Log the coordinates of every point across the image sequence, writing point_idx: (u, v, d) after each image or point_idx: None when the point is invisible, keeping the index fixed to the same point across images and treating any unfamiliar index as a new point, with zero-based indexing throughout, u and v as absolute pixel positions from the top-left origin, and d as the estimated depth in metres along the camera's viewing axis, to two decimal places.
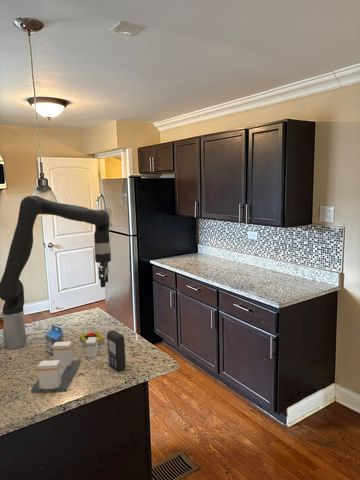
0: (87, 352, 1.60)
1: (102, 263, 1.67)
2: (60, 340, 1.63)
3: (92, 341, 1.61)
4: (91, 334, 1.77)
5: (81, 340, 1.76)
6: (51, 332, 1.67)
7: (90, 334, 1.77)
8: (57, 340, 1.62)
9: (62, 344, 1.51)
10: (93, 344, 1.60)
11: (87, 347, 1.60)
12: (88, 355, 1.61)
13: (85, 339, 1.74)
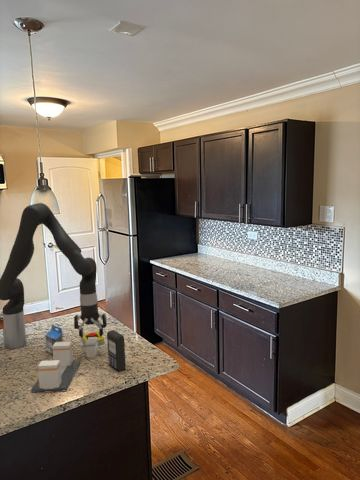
0: (87, 352, 1.60)
1: None
2: (60, 340, 1.63)
3: (92, 341, 1.61)
4: (92, 334, 1.77)
5: (82, 340, 1.77)
6: (51, 332, 1.67)
7: (91, 334, 1.77)
8: (57, 340, 1.62)
9: (62, 344, 1.51)
10: (93, 344, 1.60)
11: (87, 347, 1.60)
12: (88, 355, 1.61)
13: (86, 339, 1.74)
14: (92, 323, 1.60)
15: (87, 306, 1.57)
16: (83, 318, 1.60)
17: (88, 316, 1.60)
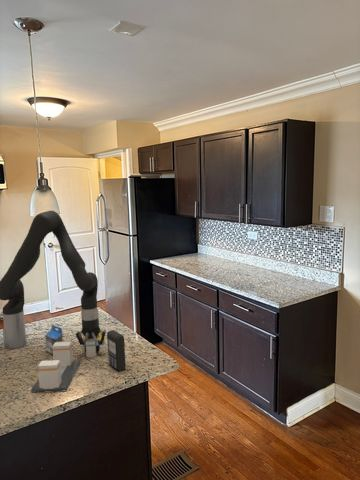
0: (87, 352, 1.60)
1: None
2: (60, 340, 1.63)
3: (92, 341, 1.61)
4: None
5: (83, 339, 1.77)
6: (51, 332, 1.67)
7: None
8: (57, 340, 1.62)
9: (62, 344, 1.51)
10: (93, 344, 1.60)
11: (87, 347, 1.60)
12: (88, 355, 1.61)
13: None
14: (91, 337, 1.62)
15: (88, 321, 1.58)
16: (84, 332, 1.61)
17: (89, 330, 1.61)
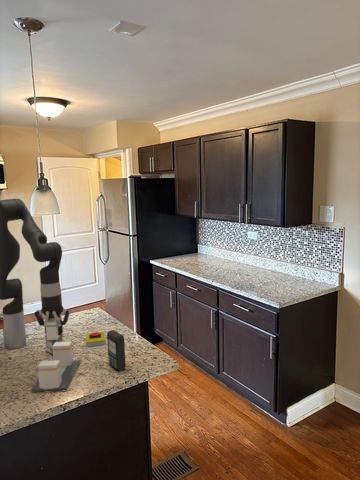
0: (47, 334, 1.39)
1: (61, 304, 1.41)
2: (60, 340, 1.63)
3: (53, 321, 1.39)
4: (95, 334, 1.77)
5: None
6: None
7: (94, 334, 1.77)
8: (57, 340, 1.62)
9: (62, 344, 1.51)
10: (54, 324, 1.38)
11: (47, 328, 1.39)
12: (48, 337, 1.39)
13: (88, 338, 1.75)
14: (52, 317, 1.40)
15: (48, 297, 1.36)
16: (44, 311, 1.40)
17: (50, 309, 1.40)
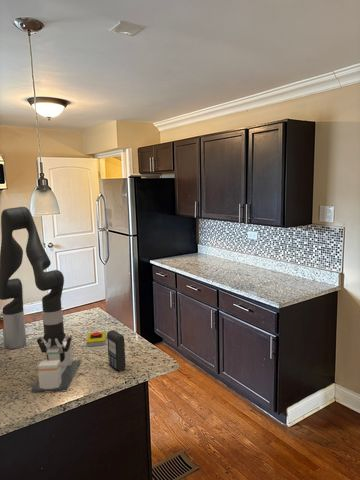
0: None
1: (63, 331, 1.42)
2: None
3: (55, 348, 1.41)
4: (96, 334, 1.77)
5: None
6: None
7: (95, 334, 1.77)
8: None
9: None
10: (56, 352, 1.40)
11: (49, 355, 1.40)
12: None
13: (89, 338, 1.75)
14: (54, 344, 1.42)
15: (50, 325, 1.38)
16: (46, 338, 1.41)
17: (52, 336, 1.41)
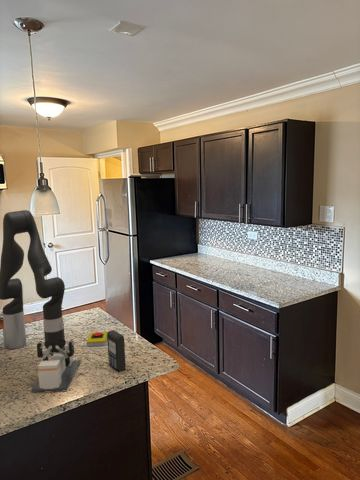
0: None
1: (64, 338, 1.43)
2: None
3: (57, 359, 1.42)
4: (97, 334, 1.77)
5: None
6: None
7: (96, 334, 1.77)
8: None
9: None
10: None
11: None
12: None
13: (90, 338, 1.75)
14: (57, 351, 1.42)
15: (51, 333, 1.38)
16: (47, 345, 1.42)
17: (53, 343, 1.42)
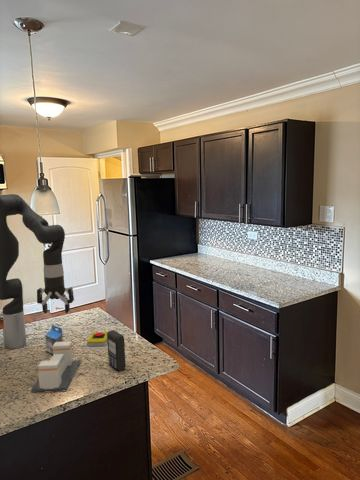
0: None
1: None
2: (60, 340, 1.63)
3: (57, 359, 1.42)
4: (98, 334, 1.77)
5: None
6: (51, 332, 1.67)
7: (98, 334, 1.77)
8: (57, 340, 1.62)
9: (62, 344, 1.51)
10: None
11: None
12: None
13: (91, 337, 1.75)
14: (57, 298, 1.45)
15: (51, 278, 1.40)
16: (47, 292, 1.44)
17: (53, 290, 1.44)
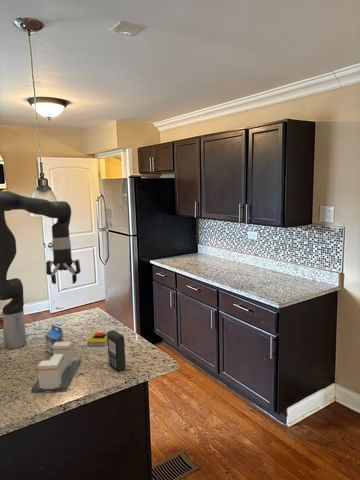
0: None
1: (71, 257, 1.56)
2: (60, 340, 1.63)
3: (57, 359, 1.42)
4: (99, 334, 1.76)
5: None
6: (51, 332, 1.67)
7: (99, 334, 1.77)
8: (57, 340, 1.62)
9: (62, 344, 1.51)
10: None
11: None
12: None
13: (91, 337, 1.76)
14: (65, 269, 1.56)
15: (59, 250, 1.52)
16: (56, 263, 1.55)
17: (61, 261, 1.55)
